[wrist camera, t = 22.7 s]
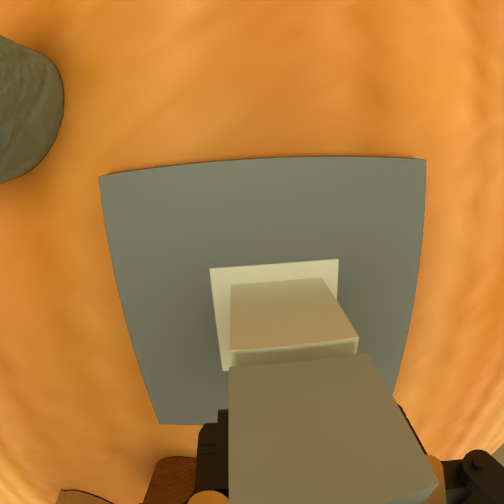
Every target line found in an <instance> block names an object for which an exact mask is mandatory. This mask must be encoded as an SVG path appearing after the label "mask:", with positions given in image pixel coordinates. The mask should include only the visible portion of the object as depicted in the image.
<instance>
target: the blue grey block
mask: <svg viewBox="0 0 504 504" xmlns="http://www.w3.org/2000/svg"><path fill="white" fill-rule="evenodd" d="M228 441H229V504H423V503H424V501H425V500H426V499H427V498H428V497H429V496H430V494H431V493H432V492H433V491H434V489H435V488H436V487H437V486H438V484H439V481H438V479H437V477H436V475H435V474H434V472H433V470H432V468H431V466H430V464H429V462H428V460H427V458H426V456H425V454H424V452H423V450H422V449H421V447H420V445H419V443H418V441H417V439H416V437H415V436H414V434H413V432H412V430H411V428H410V426H409V425H408V423H407V421H406V419H405V417H404V415H403V414H402V412H401V410H400V408H399V406H398V405H397V403H396V401H395V399H394V398H393V396H392V394H391V392H390V391H389V389H388V387H387V385H386V384H385V382H384V380H383V378H382V377H381V375H380V373H379V371H378V370H377V368H376V366H375V365H374V363H373V361H372V360H371V358H370V356H369V354H368V353H361V354H354V355H348V356H341V357H333V358H326V359H317V360H309V361H299V362H289V363H278V364H266V365H251V366H233V367H229V434H228Z"/></svg>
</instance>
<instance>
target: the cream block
mask: <svg viewBox="0 0 504 504" xmlns="http://www.w3.org/2000/svg"><path fill="white" fill-rule="evenodd" d="M358 341H359V336H358V334H357V333H356V331H355V329H354V328H353V326H352V324H351V323H350V321H349V320H348V318H347V316H346V315H345V313H344V311H343V310H342V308H341V307H340V305H339V303H338V302H337V300H336V299H335V297H334V295H333V294H332V292H331V291H330V289H329V287H328V286H327V284H326V283H325V281H324V280H323V278H322V277H318V278H307V279H295V280H282V281H270V282H257V283H243V284H231V302H230V358H231V366H232V367H233V366H251V365H266V364H278V363H289V362H299V361H309V360H317V359H326V358H333V357H341V356H348V355H354V354H357V348H358Z"/></svg>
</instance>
